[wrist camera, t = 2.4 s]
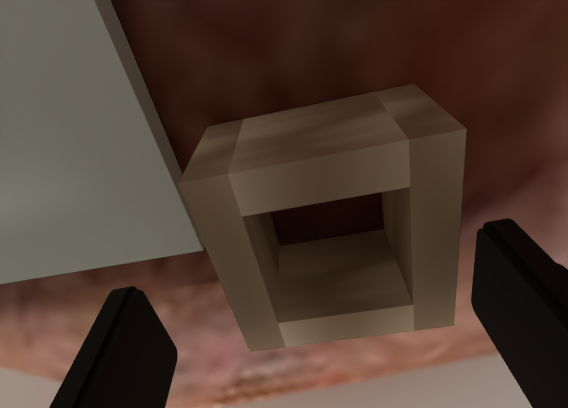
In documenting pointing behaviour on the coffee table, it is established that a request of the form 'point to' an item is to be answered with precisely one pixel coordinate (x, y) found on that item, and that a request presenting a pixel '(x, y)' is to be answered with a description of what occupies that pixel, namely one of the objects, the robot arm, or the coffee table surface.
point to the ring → (328, 187)
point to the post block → (81, 147)
